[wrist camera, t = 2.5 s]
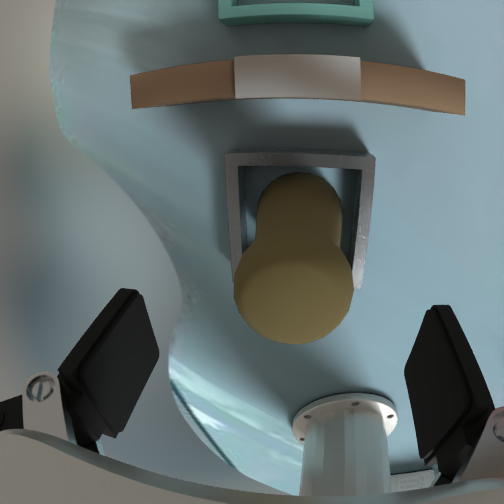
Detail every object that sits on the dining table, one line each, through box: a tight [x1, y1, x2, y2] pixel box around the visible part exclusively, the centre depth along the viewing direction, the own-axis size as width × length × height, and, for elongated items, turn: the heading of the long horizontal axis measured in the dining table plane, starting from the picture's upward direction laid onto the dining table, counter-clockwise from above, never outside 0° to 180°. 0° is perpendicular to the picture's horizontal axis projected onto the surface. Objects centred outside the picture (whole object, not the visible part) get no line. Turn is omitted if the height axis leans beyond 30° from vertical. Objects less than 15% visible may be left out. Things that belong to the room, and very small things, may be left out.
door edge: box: [130, 54, 465, 115], centre depth 15 cm, size 2×18×5 cm, turn 92°
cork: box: [234, 172, 354, 344], centre depth 17 cm, size 6×6×11 cm
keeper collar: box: [224, 149, 376, 289], centre depth 21 cm, size 9×9×2 cm
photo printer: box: [390, 470, 435, 493], centre depth 33 cm, size 10×4×12 cm, turn 95°
